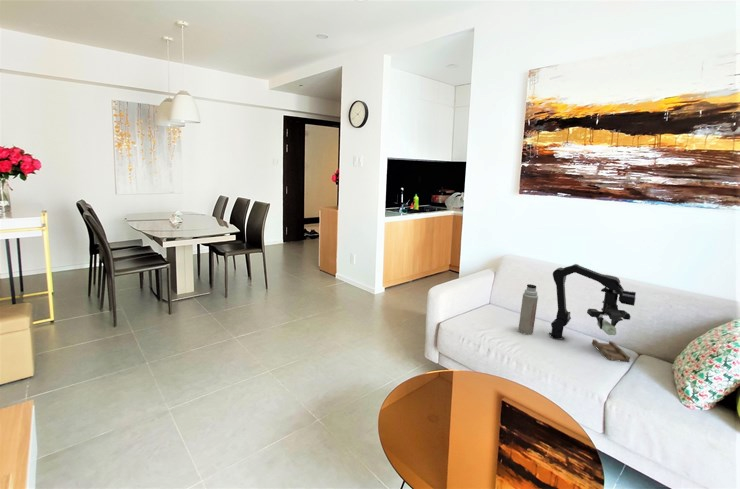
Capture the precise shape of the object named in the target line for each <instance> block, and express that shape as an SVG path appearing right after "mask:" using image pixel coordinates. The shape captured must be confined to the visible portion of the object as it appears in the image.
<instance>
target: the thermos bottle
mask: <svg viewBox="0 0 740 489" xmlns="http://www.w3.org/2000/svg"><path fill="white" fill-rule="evenodd" d="M538 300H539V295H538V290H537V286H536V285H535V284H526V289H524V292H523V293H522V299H521V307H520V315H519V320H518V321H519V322H518V330H519V331H520V332H519V331H518V330H517V331H518V332H519V333H521V332H522V333H521V334H523V333H525V334H524V335H533V334H534V328H535V322H536V315H537V306H538ZM532 333H533V334H532Z"/></svg>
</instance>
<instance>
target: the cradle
mask: <svg viewBox="0 0 740 489" xmlns="http://www.w3.org/2000/svg"><path fill="white" fill-rule="evenodd" d="M591 344H592V345H593V346H594V347H595V348H596V347H597V348H598V349H599V350H600V351H601V353H602V354H603V355H604V356H605V357H606V358H607V359H613V360H612V361H615V360H620V361H619V362H627V363H629V362H630V356H629V355H628V354H627V353H626V352H625V351H623V350H622V349H621V348H620V347H619V346H618V345H617V344H616V343H615V342H614V341H612V340H609V342H598V341H597V339H592V342H591ZM597 348H596V349H597ZM598 349H597V350H598ZM599 350H598V351H599ZM600 351H599V352H600ZM602 354H601V355H602ZM603 355H602V356H603ZM604 356H603V357H604ZM605 357H604V358H605ZM606 358H605V359H606ZM607 359H606V360H607Z"/></svg>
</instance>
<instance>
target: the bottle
mask: <svg viewBox="0 0 740 489" xmlns="http://www.w3.org/2000/svg"><path fill="white" fill-rule="evenodd" d="M596 321H597V320H596ZM596 325H597V326H598V327H599V324H598V321H597V322H596ZM601 330H602V331H603V332H604V333H606V335H608V336H616V335H617V328H616V326H615V327H614V326H613V325H611V322H609V321H608V320H607V319H605V318H604V319H603V322H602V329H601Z"/></svg>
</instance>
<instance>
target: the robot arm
mask: <svg viewBox="0 0 740 489" xmlns="http://www.w3.org/2000/svg"><path fill="white" fill-rule="evenodd" d="M571 274H578V275H580V276H583V277H586V278H588V279H591V280H593V281H595V282H598V283H600V284H601V285H602V286H603V288H601V289H600V292H602V293H604V298H603V300H602V302H601V303H602V307H601V311H599V310H598V309H596V308H588V309H587V311H586V313H587V315H589V316H590V317H591V318H596V321H598V324H599V326H598V327H599V330H602V322H603V319H605V318H604V317H603V316H608V318H609V319H610V324H611V325H613V326H614V327H615V328H616V325H617V324H618V323H619V322H620V321H624V320H627V321H630V320H631V317H632V316H631V315H630V313H628V312H627V311H625V310H624V309H623V310H622V309H619V306H618V304H617V303H618V302H619V303H620V304H623V305H628V306H634V307H635V303H636V294H637V292H635V291H628V290H624V287H623V286H622V285H621V280H620V278H619V277H616V276H613V275H608V274H602V273H601V272H600V273H599V272H597V271H594V270H593V269H592V270H591V269H589V268H587V267H584V266H582V265H580V264H577V263H574V264H572V265H569V266H565V267H557V268H556V269H555V270H554V271H553V272H552V278H553V281H554V284H555V285H556V286H555V287H556V300H557V312H556V317H555V319H554V320H552V322H551V323H550V325H551V326H550V327H551V332H548V334H549V336H550V335H551V336H550V337H551V338H552V337H553V338H552V339H556V338H563V339H562V340H565V337H564V336H563V334H564V333H563V332H564V327H566V326H567V325H568V324H569V322H570V320H571V319H572V317H571V311H568V310H567V299H566V280H567V276H569V275H571Z"/></svg>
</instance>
